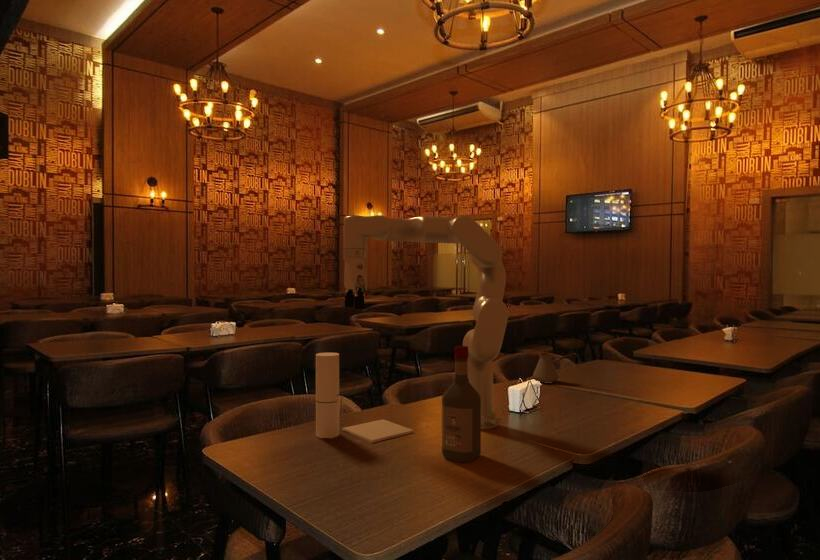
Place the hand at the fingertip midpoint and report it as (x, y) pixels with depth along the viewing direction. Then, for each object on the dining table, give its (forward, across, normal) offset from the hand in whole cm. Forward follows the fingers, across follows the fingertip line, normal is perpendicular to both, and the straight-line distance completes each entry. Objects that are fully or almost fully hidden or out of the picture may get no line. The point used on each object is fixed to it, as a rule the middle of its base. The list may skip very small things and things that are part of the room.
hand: (354, 308), depth 172 cm
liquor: (+38, -37, -19) cm, 57 cm away
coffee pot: (+37, +29, -106) cm, 116 cm away
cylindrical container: (+39, -4, +9) cm, 40 cm away
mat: (+39, -6, -6) cm, 40 cm away
